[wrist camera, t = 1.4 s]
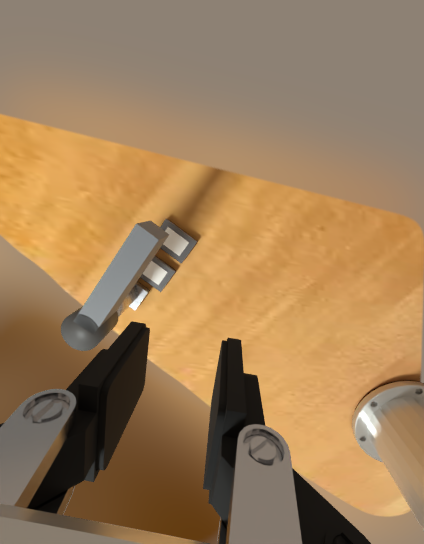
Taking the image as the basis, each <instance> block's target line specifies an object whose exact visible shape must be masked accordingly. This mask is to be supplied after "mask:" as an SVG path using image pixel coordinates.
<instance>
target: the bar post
mask: <svg viewBox="0 0 424 544" xmlns="http://www.w3.org/2000/svg"><path fill="white" fill-rule="evenodd" d="M149 291H150V290H148V289H147V288H146V287H144V286H143V285H141V284H140V283H139V282H136V284H135V285H134V287H133V288H132V290H131V291H130V292H129V294H128V295H127V297H126V298H125V300H124V301H123V303H122V304H121V305H120V307H119V308H118V310H117V312H118V317H119V316H120V315H121V314H122V313H123V312H124V311H125V310H126V309H127V308H128V307H131V308H132V309H133V310H136V309H137V308H138V306H139V305H140V304H141V302H142V301H143V299H144V298H145V297H146V295H147V294H148V292H149Z"/></svg>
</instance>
